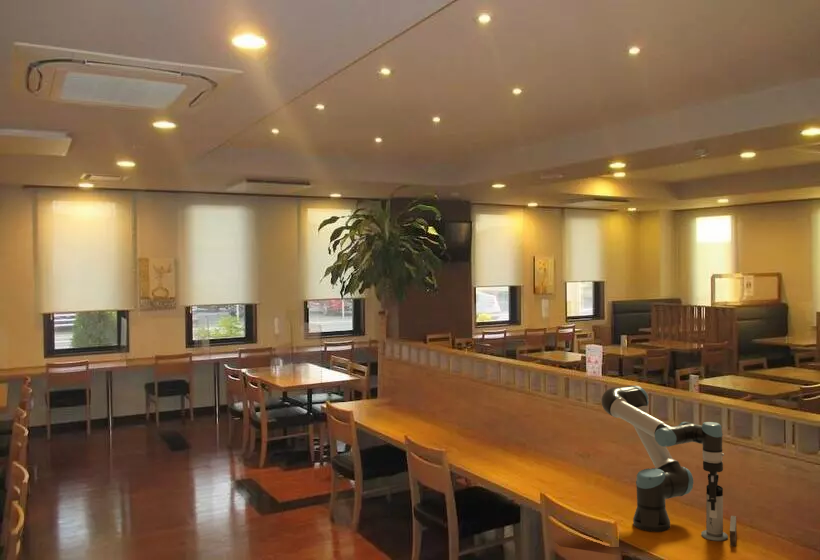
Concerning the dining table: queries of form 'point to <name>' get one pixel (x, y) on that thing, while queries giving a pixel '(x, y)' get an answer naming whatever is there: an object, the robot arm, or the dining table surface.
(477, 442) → the dining table surface
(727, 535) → the slate saucer
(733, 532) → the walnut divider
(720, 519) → the travel mug
